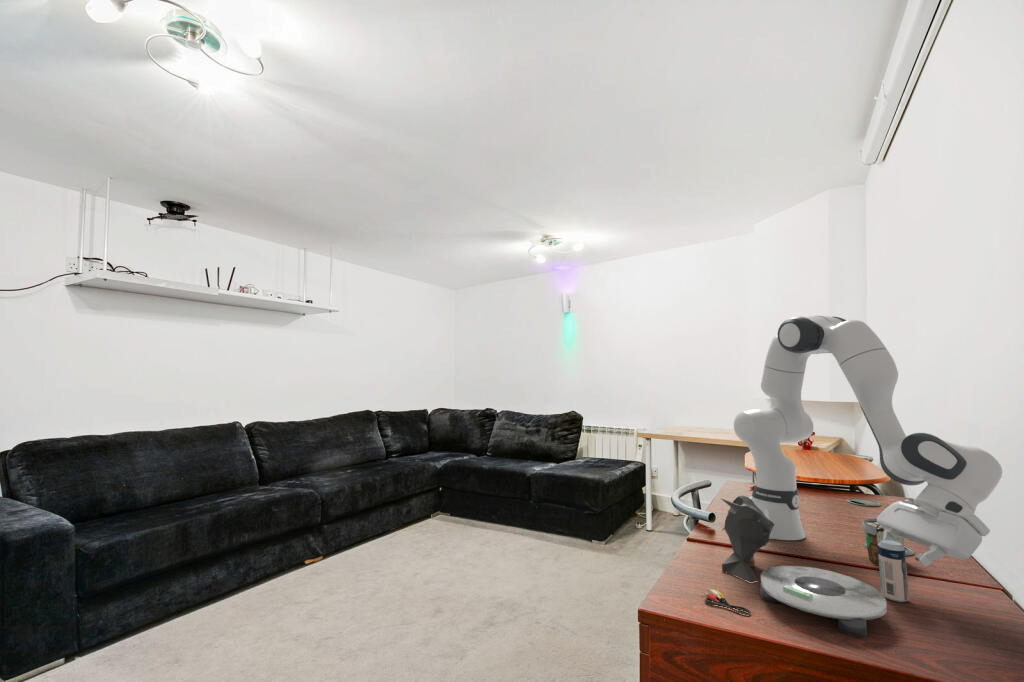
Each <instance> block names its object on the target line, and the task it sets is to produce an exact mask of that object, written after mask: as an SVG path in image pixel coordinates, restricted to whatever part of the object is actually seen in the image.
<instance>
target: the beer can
mask: <svg viewBox="0 0 1024 682" xmlns="http://www.w3.org/2000/svg"><path fill="white" fill-rule="evenodd" d="M906 554H907V553H906V548H905V546H903V544H902V543H900V542H898V541H894V540H887V539H881V540H880V542H879V543H878V555H879V565H878V569H879V580H880V581H879V583H880V592H881V593H882V594H883V595H884V597H885V599H886V600H890V601H893V602H898V603H904V602H905V603H906V602H908V601H909V600H910V597H909V596H910V595H909V594H910V593H909V582H908V570H907V569H908V568H907V557H906Z"/></svg>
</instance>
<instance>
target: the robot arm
mask: <svg viewBox="0 0 1024 682" xmlns="http://www.w3.org/2000/svg"><path fill="white" fill-rule="evenodd" d="M768 347H769V348H768V351H767V354H766V356H765V357H766V358H765V361H764V366H763V371H762V377H761V382H760V388H761V390H762V392H763V393H764V394H765V395H766V396H767V397H768V398H769V399H770V400H769V401H770V407H769V408H752V409H748V410H745V411H741V412H738V414H736V416H735V418H734V421H733V429H734V432H735V434H736V436H737V437H738V439H739V440H741V441H742V442H744V444H745V445H746V446H747V447H748V449H749V452H750V453H751V454H752V457H753V458H752V459H753V461H754V466H755V467H754V469H755V479H756V484H755V485H753V486H751V487H749V489H748V491H749V492H752V493H751V496H749V497H748V498H750V499H751V500H752V501H753V502H754V504H755V505H756V506H757V507H758V508H759V509H760V510H761V511H762V512H763V514H764V515H765V516H766V517H767V518H768V519H769V520H770V521H772V522H773V524H774V526H773V528H772V531H771V534H770V536H769V540H772V539H773V540H781V541H800V540H803V539H805V538H806V534H805V531H804V529H803V527H802V526H803V525H802V521H801V517H800V516H801V515H800V512H799V511H800V510H799V508H800V498H799V489H798V488H797V474H796V473H797V472H796V465H795V463H794V461H792V460H791V458H788V457H787V456H786V455H784V453H783V451H782V447H781V444H788V443H789V444H791V443H793V444H794V443H798V442H801V441H802V442H803V441H804V440H807V439H809V438H810V437H811V436H812V434H813V432H814V422H813V420H812V417H811V416H810V415H809V413H807V412H806V411H805V409H804V407H803V402H802V401H803V400H802V388H803V385H804V384H803V383H804V377H805V372H806V368H807V367H806V365H807V361H808V359H809V357H810V356H811V355H819V354H831V355H832V356H833V357H834V358H835V361H836V362H837V363H838V366H839V367H840V369H841V371H842V373H843V374H844V377H845V378H846V380H847V381H848V384H849V386H850V387H851V389H852V391H853V393H854V396H855V398H856V400H857V402H858V404H859V406H860V408H861V411H862V413H863V417H865V419H866V421H867V424H868V426H869V428H870V431H871V433H872V435H873V436H874V439H875V440H876V443H877V444H876V445H877V446H878V451H879V462H880V463H879V464H880V467H881V469H882V471H883V473H885V475H886V476H888V477H889V478H890V479H891V480H893V481H894V482H896V483H898V484H901V485H904V486H917V485H918V486H919V485H922V484H923V483H925V482H926V483H927V485H926V486H925V487H924V488H923V489H922V491H920V493H919V494H918V495H917V497H916V498H914V501H913V500H910V499H902V500H898V501H894V502H892V503H891V504H890V505H888V506H887V507H886V508H885V509H884V510H883V511H881V513H879V514H878V516H877V517H876V518H877V523H878V524H879V525H880V526H881V527H882V528H883V529H884V536H883V539H887V540H893V538H895V539H896V538H897V537H898V536H900V537H903V538H904V539H905V540H909V541H911V542H912V543H913V542H914V543H916V544H919V545H922V546H924V547H927V548H929V550H927V551H926V552H924V553H922V552H918V554H917V556H915V557H914V558H915V559H914V560H915V561H916V562H917V563H918V564H920V565H922V566H924V567H928V566H929V565H930V564H931V563H932V562H934V561H936V560H940V559H942V558H944V557H945V555H946V556H949V557H951V558H955V559H957V560H961V561H962V560H965V559H968V558H970V557H971V556H972V555H973V554H974V553H975V551H977V549H978V547H979V546H981V544H982V542H983V537H986V536H988V534H990V532H991V529H990V528H989V527H988V526H987V525H986V524H985V523H984V522H983V521H982V520H981V519H980V518H979V517H978V516H977V515H976V514H975V513H976V510H977V507H978V506H979V504H980V503H982V502H984V501H986V500H987V499H988V498H989V497H990V496H991V494H992V493H993V492H994V490H995V489H996V488H997V486H998V484H999V483H1000V480H1001V478H1002V476H1003V468H1002V465H1001V464H1000V462H999V461H998V460H997V459H996V458H995V457H994V456H993V455H992V454H990V453H989V452H987V451H985V450H984V449H981V448H979V447H976V446H972V445H971V446H970V445H969V446H967V445H960V444H957V443H952V442H949V441H946V440H944V439H941V438H939V437H938V436H935V435H933V434H930V433H926V432H915V433H912V434H908V435H906V433H905V431H904V429H903V427H902V425H901V423H900V420H899V419H898V417H897V415H896V413H895V411H894V407H893V394H894V392H895V389H896V384H897V382H898V379H899V371H898V368H897V365H896V363H895V360H894V358H893V357H892V355H891V353H890V352H889V350H888V348H887V347H886V345H885V344H884V342H882V340H881V338H879V336H878V335H877V334H876V332H874V331H873V329H872V328H871V327H870V326H869V325H868V324H867V323H866V322H864V321H861V320H859V319H848V320H847V319H846V318H842V317H839V316H828V315H827V316H826V315H811V316H795V317H790V318H788V319H786V320H784V321H783V322H782V323H781V324H780V325H779V328H778V329H777V334H776V335H775V336H774V337H773V338H772V341H771V342H770V345H769V346H768Z"/></svg>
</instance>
